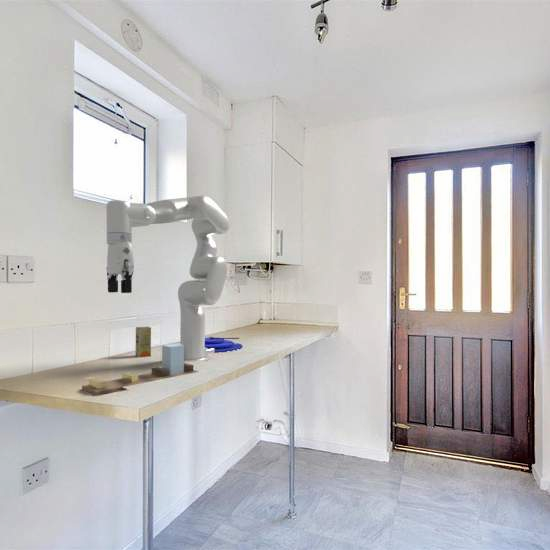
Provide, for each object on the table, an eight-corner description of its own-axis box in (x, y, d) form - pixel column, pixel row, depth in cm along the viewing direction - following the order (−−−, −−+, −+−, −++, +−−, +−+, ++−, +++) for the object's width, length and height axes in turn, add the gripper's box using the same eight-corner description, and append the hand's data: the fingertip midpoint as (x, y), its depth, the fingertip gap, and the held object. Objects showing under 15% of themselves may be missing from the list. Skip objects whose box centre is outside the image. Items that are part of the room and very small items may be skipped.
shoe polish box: (138, 357, 164) (138, 328, 164) (135, 355, 168) (135, 327, 168) (150, 356, 166) (150, 327, 167) (147, 354, 171) (147, 326, 171)
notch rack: (182, 370, 139) (182, 361, 139) (199, 374, 132) (199, 365, 132) (82, 389, 114) (82, 378, 114) (97, 395, 107) (97, 384, 107)
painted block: (175, 370, 134) (175, 343, 134) (183, 372, 131) (183, 345, 131) (162, 372, 130) (162, 345, 131) (170, 375, 127) (170, 347, 127)
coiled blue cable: (166, 337, 189) (218, 331, 210) (166, 348, 189) (218, 342, 210) (202, 343, 168) (255, 337, 189) (202, 356, 168) (255, 348, 188)
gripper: (143, 238, 124) (143, 292, 124) (118, 242, 136) (119, 291, 136) (119, 236, 119) (119, 293, 119) (96, 240, 131) (96, 292, 131)
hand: (119, 292), depth 127 cm, fingers open, 9 cm apart
